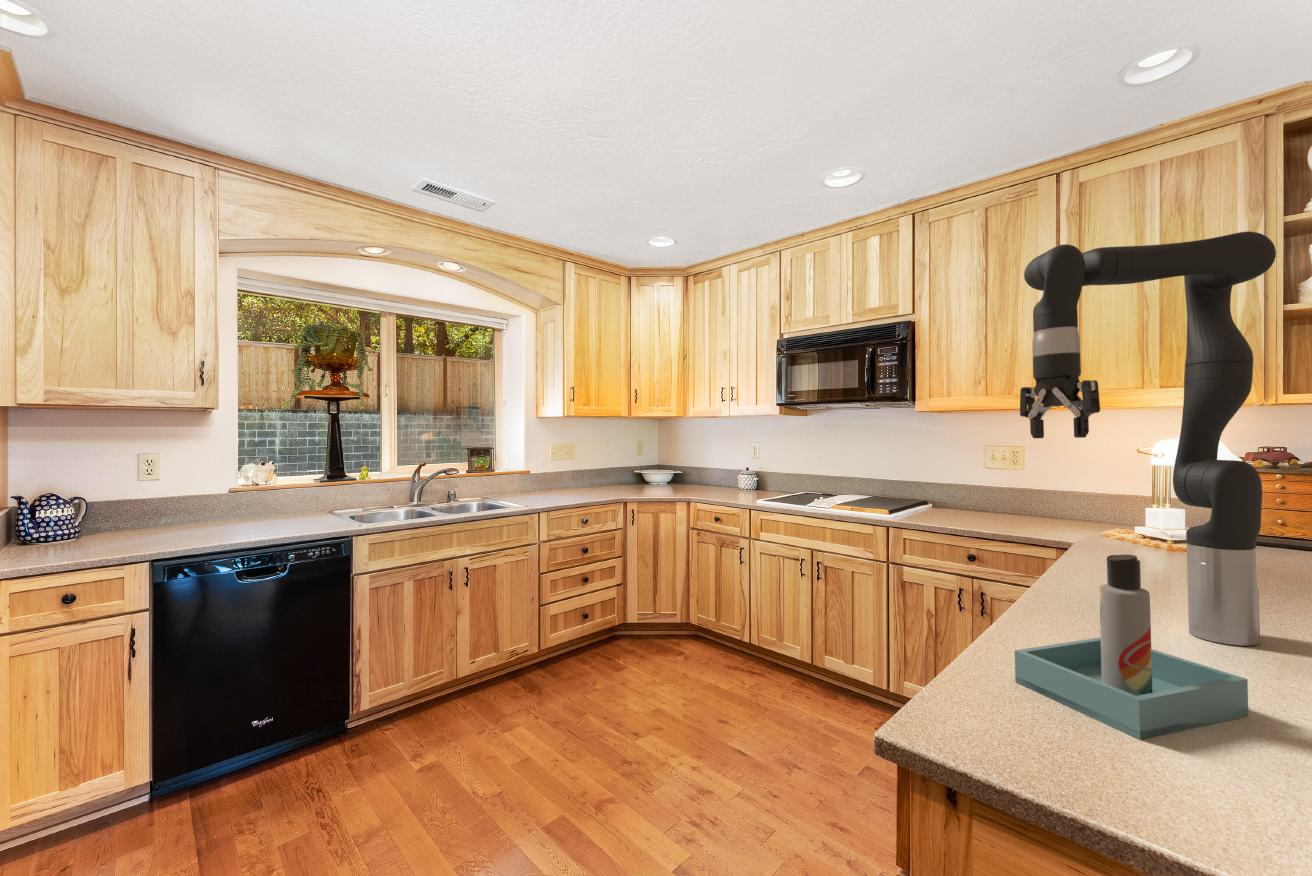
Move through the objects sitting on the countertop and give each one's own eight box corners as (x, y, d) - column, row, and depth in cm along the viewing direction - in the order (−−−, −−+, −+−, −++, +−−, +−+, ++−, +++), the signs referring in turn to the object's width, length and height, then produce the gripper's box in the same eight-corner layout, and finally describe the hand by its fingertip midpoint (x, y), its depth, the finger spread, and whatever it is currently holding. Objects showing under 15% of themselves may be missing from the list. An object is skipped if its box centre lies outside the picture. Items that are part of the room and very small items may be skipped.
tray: (1110, 665, 94) (1109, 635, 94) (1248, 715, 77) (1247, 678, 77) (1015, 681, 89) (1014, 650, 89) (1140, 739, 71) (1139, 700, 72)
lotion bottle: (1162, 702, 79) (1158, 559, 79) (1115, 699, 80) (1112, 558, 80) (1137, 685, 85) (1133, 551, 85) (1093, 682, 86) (1090, 551, 86)
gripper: (1109, 348, 103) (1111, 437, 103) (1037, 359, 116) (1039, 438, 116) (1077, 347, 101) (1080, 438, 101) (1008, 359, 114) (1010, 438, 114)
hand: (1058, 437), depth 108 cm, fingers open, 8 cm apart
